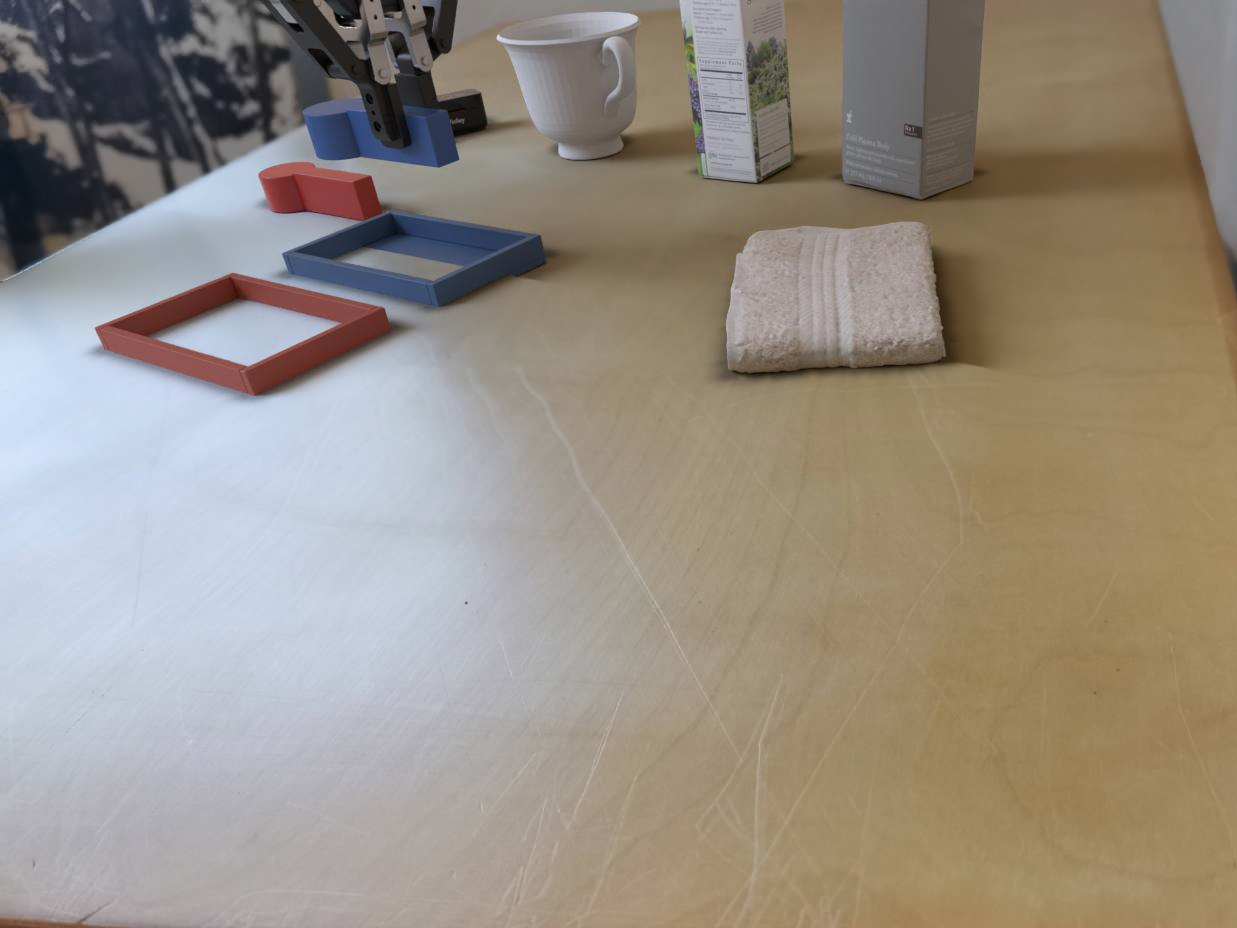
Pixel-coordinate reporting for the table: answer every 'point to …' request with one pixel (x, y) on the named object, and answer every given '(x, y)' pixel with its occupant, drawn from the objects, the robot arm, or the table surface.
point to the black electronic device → (464, 110)
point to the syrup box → (738, 87)
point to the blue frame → (419, 255)
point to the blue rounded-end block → (349, 135)
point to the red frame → (130, 341)
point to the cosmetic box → (910, 93)
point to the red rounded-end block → (319, 191)
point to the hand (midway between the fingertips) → (411, 140)
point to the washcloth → (834, 299)
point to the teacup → (577, 78)
